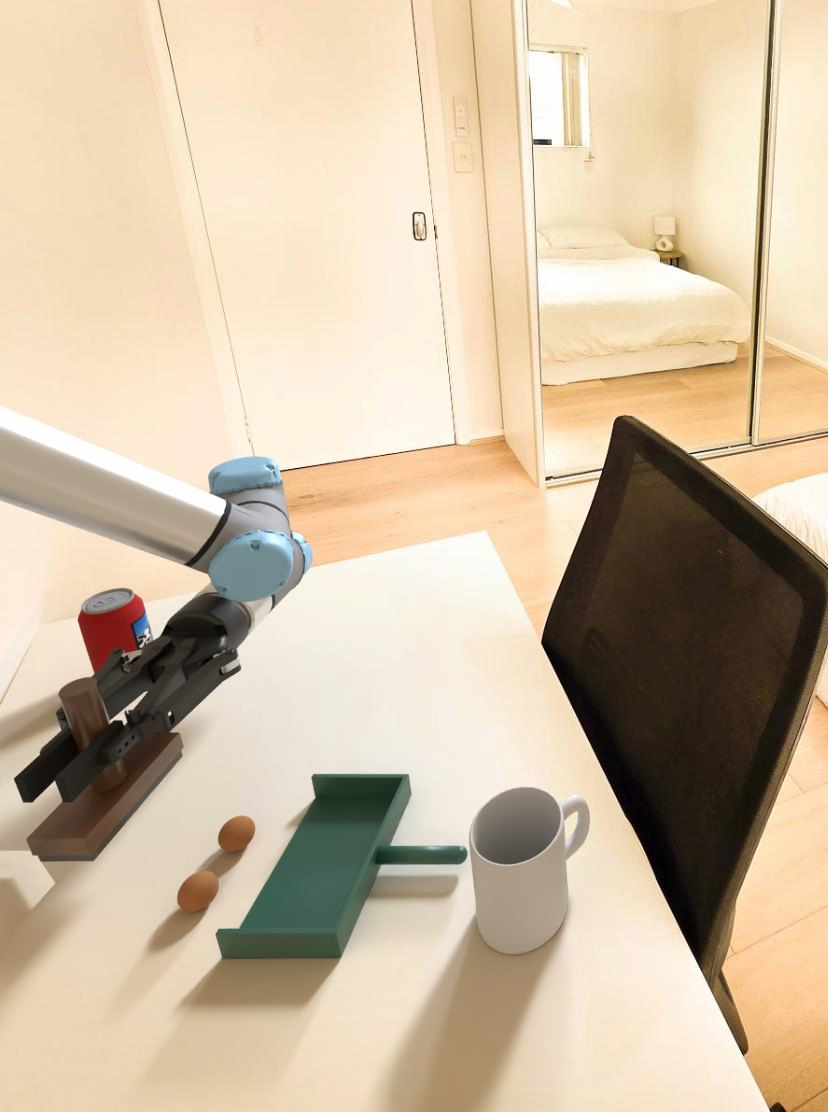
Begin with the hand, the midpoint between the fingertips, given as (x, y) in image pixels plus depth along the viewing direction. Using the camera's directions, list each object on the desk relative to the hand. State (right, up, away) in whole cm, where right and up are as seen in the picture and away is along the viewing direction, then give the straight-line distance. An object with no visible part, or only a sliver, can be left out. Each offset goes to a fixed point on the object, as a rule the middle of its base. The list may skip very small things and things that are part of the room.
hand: (43, 790), depth 58 cm
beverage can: (-23, -4, +36) cm, 43 cm away
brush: (0, -6, +8) cm, 10 cm away
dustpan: (+23, -14, +11) cm, 29 cm away
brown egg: (+8, -13, +7) cm, 17 cm away
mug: (+40, -16, +9) cm, 44 cm away
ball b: (+8, -11, +13) cm, 19 cm away
